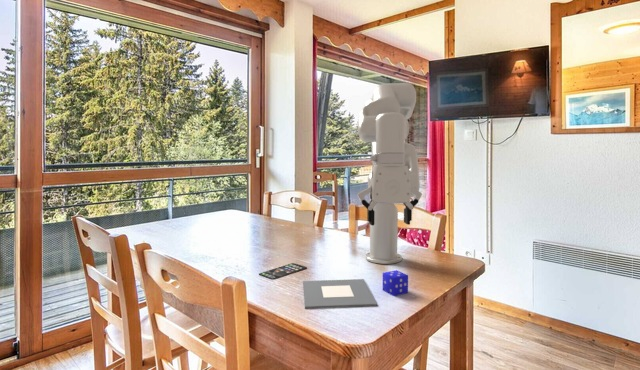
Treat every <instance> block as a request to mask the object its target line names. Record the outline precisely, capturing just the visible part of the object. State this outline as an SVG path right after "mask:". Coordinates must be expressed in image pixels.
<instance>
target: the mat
mask: <svg viewBox="0 0 640 370" xmlns="http://www.w3.org/2000/svg"><path fill="white" fill-rule="evenodd" d="M302 285H303V286H302V287H303V298H304V299H303V301H304V309H325V308H326V309H327V308H328V309H330V308H351V307H352V308H354V307H355V308H356V307H358V308H359V307H376V306H378V302H377V301H376V299H375V297H374V296H373V293H372V291H371V290H370V288H369V286H368V284H367V282H366V280H365V279H364V278H359V279H358V278H357V279H331V280H330V279H326V280H304V281H303V280H302Z"/></svg>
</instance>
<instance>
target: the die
mask: <svg viewBox="0 0 640 370" xmlns="http://www.w3.org/2000/svg"><path fill="white" fill-rule="evenodd" d="M382 291H383V292H385V293H386V294H389V295H391V296H392V297H396V296H399V295H405V294H408V293H409V275H408V274H406V273H405V272H404V273H403V272H401V271H399V270H397V269H396V270H391V271H386V272H382Z"/></svg>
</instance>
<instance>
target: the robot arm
mask: <svg viewBox="0 0 640 370" xmlns="http://www.w3.org/2000/svg"><path fill="white" fill-rule="evenodd" d="M416 91H417V90H416V89H415V86H414V85H413V84H411V83H409V82H397V83H396V82H393V83H392V82H389V83H388V82H387V83H382V84H381V83H380V84H378V85H377V86H376V87H375V88H374V89H373V90H372V96H371V97H372V98H369V99H367V101H365V104H364V106H363V107H362V109H361V110H360V112H359V115H358V119H357V120H358V121H357V122H358V123H357V132H358V137H359V139H360V140H361V141H362V142H363V143H371V155H370V158H369V159H370V162H371V163H372V169H371V172H370V173H369V175H368V177H367V188H365V189H363V190H361V191H360V192H358V193H357V194H356V196H357V198H358V199H359V201H360V204H362V205H363V206H364V207H365V208H366V209H367V210H366V211H367V214H366V215H367V216H366V217H367V218H366V221H367V222H369V252H368V253H366V254H365V260H367V261H368V262H371V263H374V264H381V265H389V264H390V265H391V264H397V263H400V262H401V261H402V259H403V258H402V255H401V254H400V253H398V235H399V234H398V230H399V229H398V226H399V225H398V224H399V223H398V222H399V221H398V219H399V218H398V217H399V213H398V212H399V211H398V208H397V206H396V204H403V206H404V208H403V223H404V224H406V225H410V224H411V221H412V220H413V219H412V218H413V217H412V214H413V212H412V211H413V210H414V207H415V206H416V205H417V204H418V203H419V201H420V199H421V198H422V195H423V193H422V192H421V191H420V184H421V183H420V171H419V160H418V157H419V156H418V151H417V149H416V147H415V145H414V144H412V143H407V142H405V140H406V139H407V138H408V136H409V133H410V124H409V123H410V122H409V121H408V120H409V119H411V117H412V116H413V112H414V109H415V107H416V103H417V92H416ZM368 194H369V202H368V201H367V200H366V199H365V196H367V195H368ZM411 198H412V199H411Z"/></svg>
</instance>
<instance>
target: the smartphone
mask: <svg viewBox="0 0 640 370" xmlns="http://www.w3.org/2000/svg"><path fill="white" fill-rule="evenodd" d="M307 269H308V268H307V266H304V265H301V264H298V263H294V262H291V263H288V264H285V265H282V266H278V267H275V268H272V269H269V270H266V271H262V272H260V273H258V276H260V277H263V278H266V279H269V280H271V281H273V280H277V279H280V278H283V277H286V276H290V275H293V274H295V273H298V272H301V271H304V270H307Z"/></svg>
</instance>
